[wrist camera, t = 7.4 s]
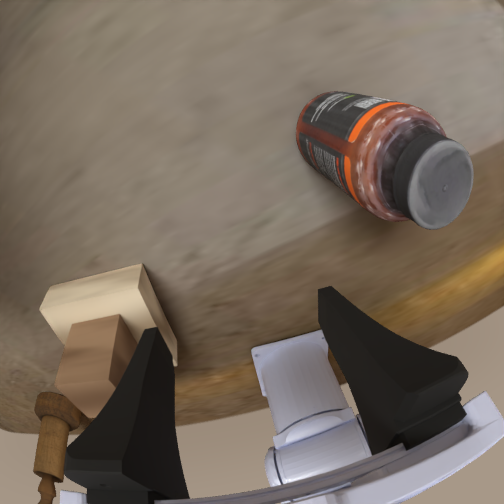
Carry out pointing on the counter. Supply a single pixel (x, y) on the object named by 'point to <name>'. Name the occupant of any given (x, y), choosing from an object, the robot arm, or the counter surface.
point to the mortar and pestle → (53, 440)
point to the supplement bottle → (386, 157)
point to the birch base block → (108, 303)
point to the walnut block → (94, 362)
